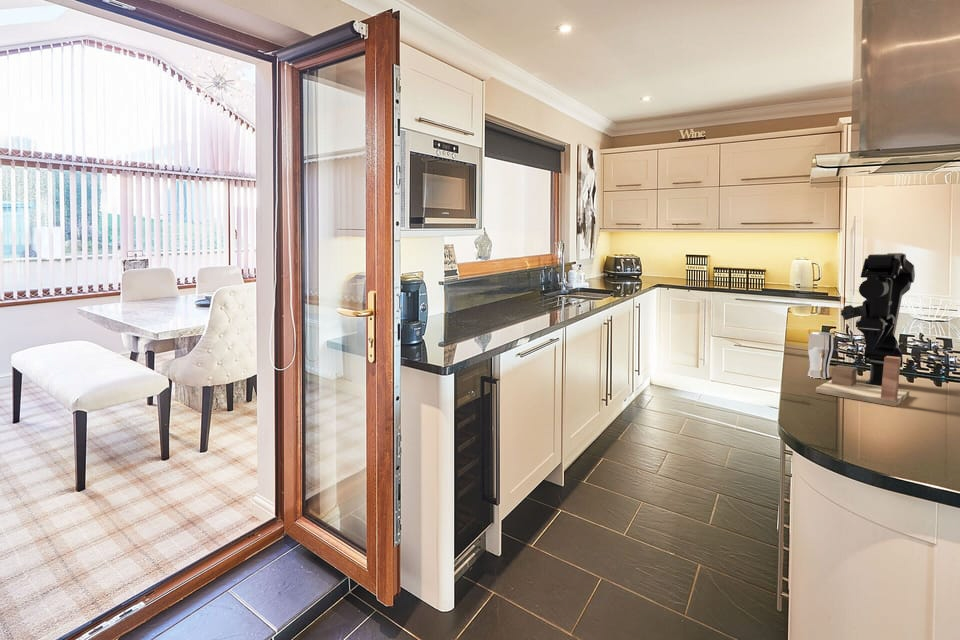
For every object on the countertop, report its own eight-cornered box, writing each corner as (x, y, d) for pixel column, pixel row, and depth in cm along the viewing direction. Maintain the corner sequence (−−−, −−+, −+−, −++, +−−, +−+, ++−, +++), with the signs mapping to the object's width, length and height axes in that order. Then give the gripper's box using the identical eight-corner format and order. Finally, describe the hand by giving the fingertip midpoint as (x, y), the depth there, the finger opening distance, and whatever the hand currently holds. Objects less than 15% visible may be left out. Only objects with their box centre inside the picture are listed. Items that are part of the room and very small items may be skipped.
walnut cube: (836, 380, 158) (837, 365, 157) (855, 383, 154) (857, 367, 153) (831, 383, 155) (832, 367, 154) (850, 386, 151) (852, 370, 150)
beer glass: (835, 379, 165) (838, 335, 163) (811, 379, 166) (814, 334, 164) (825, 374, 172) (828, 331, 170) (802, 374, 173) (805, 331, 171)
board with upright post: (832, 383, 160) (835, 343, 158) (909, 395, 145) (913, 351, 144) (815, 392, 151) (818, 350, 149) (895, 406, 136) (900, 359, 134)
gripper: (852, 294, 159) (848, 342, 161) (837, 297, 146) (832, 350, 148) (897, 296, 150) (892, 347, 152) (885, 300, 138) (879, 355, 140)
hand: (873, 349), depth 148 cm, fingers open, 9 cm apart
